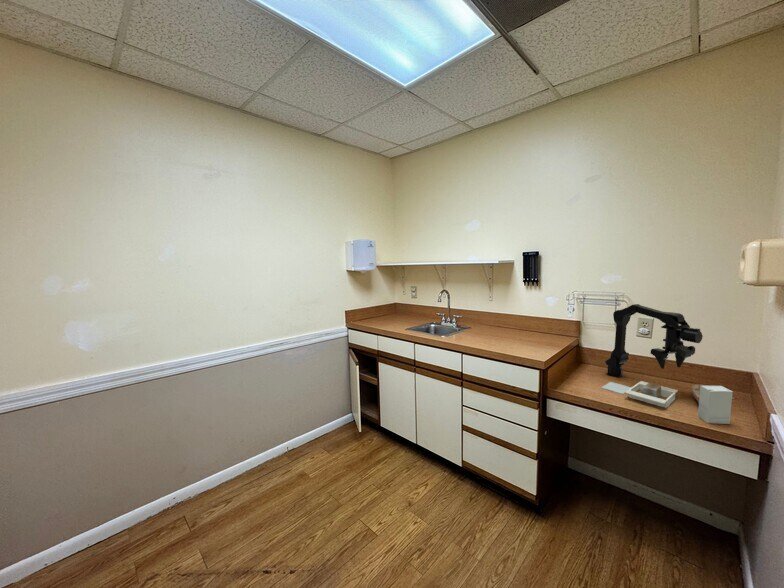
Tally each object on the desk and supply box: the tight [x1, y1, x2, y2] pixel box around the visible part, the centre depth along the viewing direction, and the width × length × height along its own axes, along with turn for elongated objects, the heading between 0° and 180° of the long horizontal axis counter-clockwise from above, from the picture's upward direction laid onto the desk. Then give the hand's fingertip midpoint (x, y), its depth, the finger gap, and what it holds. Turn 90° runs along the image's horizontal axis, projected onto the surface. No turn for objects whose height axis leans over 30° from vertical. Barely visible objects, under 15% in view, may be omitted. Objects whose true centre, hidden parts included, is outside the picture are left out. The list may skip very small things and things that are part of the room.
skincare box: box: [697, 385, 734, 425], centre depth 134 cm, size 8×6×15 cm
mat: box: [600, 381, 632, 395], centre depth 169 cm, size 10×12×1 cm
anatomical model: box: [691, 383, 709, 403], centre depth 151 cm, size 23×10×5 cm, turn 143°
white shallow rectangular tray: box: [624, 380, 679, 409], centre depth 157 cm, size 15×22×4 cm
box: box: [642, 382, 662, 399], centre depth 157 cm, size 5×9×6 cm, turn 126°
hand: (670, 368), depth 160 cm, fingers open, 9 cm apart
